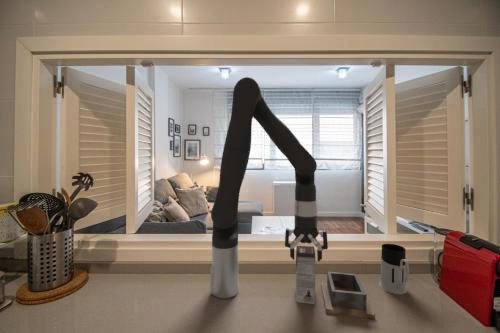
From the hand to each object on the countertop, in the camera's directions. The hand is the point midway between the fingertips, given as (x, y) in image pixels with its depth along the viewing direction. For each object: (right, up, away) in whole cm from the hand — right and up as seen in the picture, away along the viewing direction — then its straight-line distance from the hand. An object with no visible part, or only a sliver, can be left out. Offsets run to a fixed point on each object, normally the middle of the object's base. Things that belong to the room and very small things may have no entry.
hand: (305, 259), depth 82 cm
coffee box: (0, -13, 0) cm, 13 cm away
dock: (+13, -13, -2) cm, 18 cm away
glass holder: (+33, -13, +3) cm, 35 cm away
